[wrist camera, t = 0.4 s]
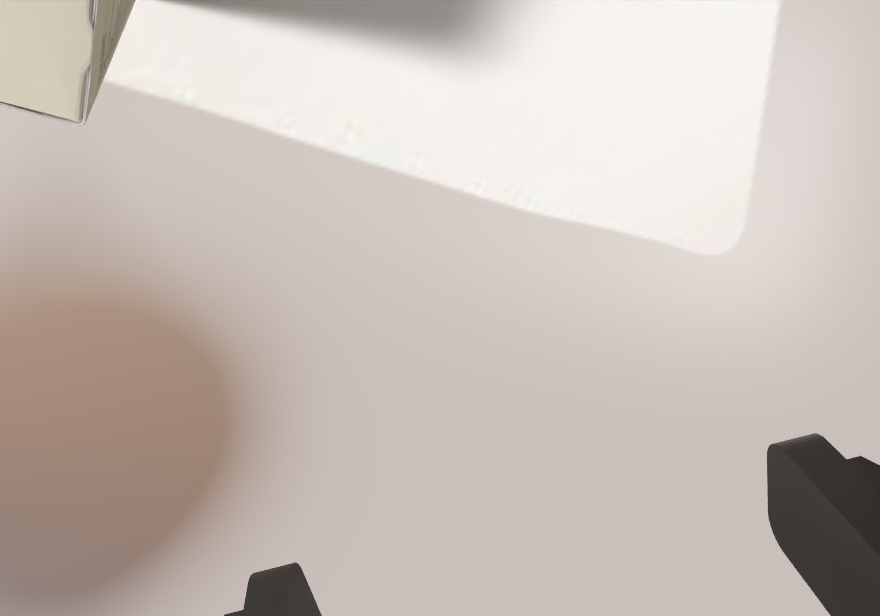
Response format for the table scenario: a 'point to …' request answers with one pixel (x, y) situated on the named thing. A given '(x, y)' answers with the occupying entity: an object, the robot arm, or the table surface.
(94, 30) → the skincare box
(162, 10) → the table surface
